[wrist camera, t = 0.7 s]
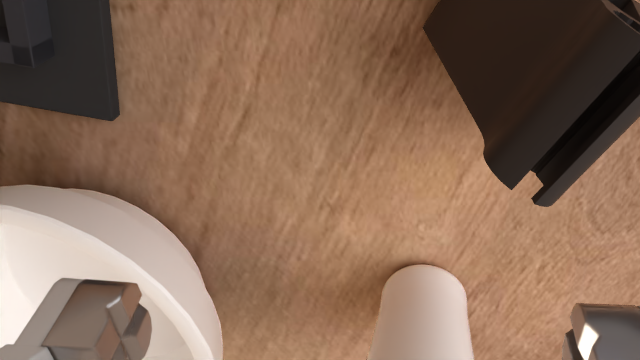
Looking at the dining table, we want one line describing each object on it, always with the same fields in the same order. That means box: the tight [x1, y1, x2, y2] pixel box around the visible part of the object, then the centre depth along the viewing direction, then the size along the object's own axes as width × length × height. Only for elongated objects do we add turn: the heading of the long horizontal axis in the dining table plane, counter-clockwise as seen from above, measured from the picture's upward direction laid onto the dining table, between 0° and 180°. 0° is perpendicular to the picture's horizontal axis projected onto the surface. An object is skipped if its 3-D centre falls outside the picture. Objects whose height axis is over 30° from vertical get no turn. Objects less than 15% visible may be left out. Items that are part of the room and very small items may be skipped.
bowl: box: [0, 184, 223, 360], centre depth 39 cm, size 22×22×8 cm
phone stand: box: [423, 0, 640, 207], centre depth 23 cm, size 9×6×12 cm, turn 61°
